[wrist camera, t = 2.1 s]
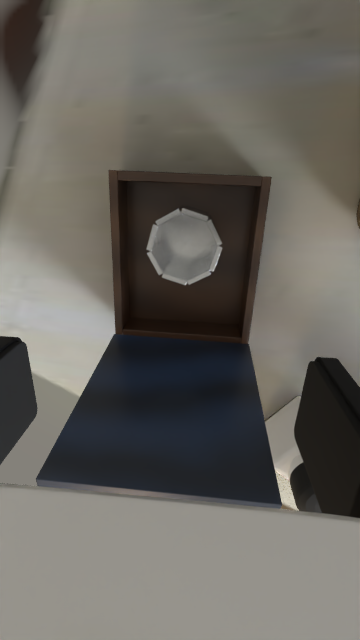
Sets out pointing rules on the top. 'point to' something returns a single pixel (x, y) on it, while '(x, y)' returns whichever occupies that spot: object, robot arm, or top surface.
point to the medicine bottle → (290, 456)
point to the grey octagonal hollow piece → (184, 245)
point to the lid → (168, 426)
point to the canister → (358, 215)
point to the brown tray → (186, 300)
